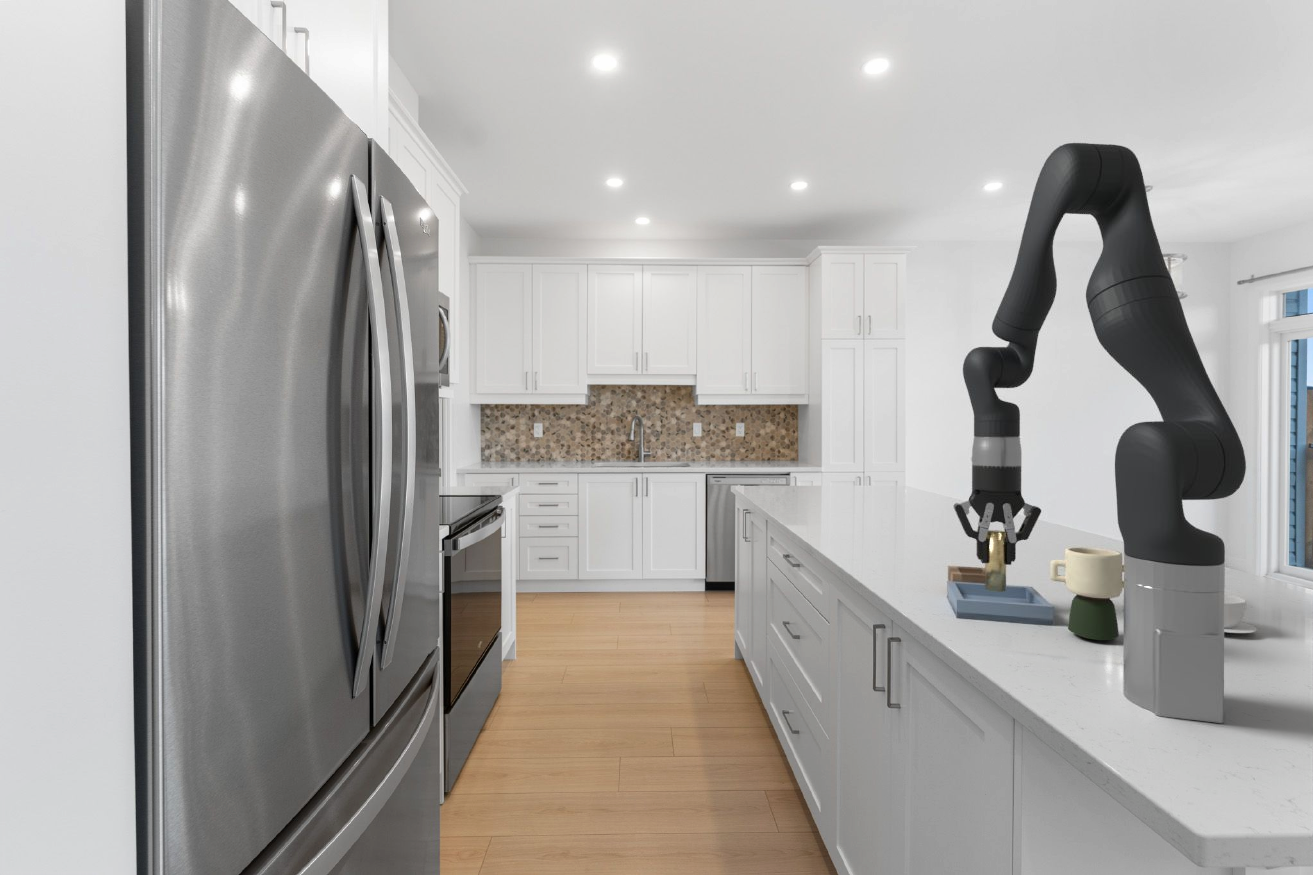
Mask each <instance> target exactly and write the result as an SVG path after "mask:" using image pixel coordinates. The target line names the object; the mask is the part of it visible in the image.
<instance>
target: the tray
mask: <svg viewBox="0 0 1313 875" xmlns="http://www.w3.org/2000/svg"><path fill="white" fill-rule="evenodd" d="M946 598H947V601H948V603H949V604H950V607H951V609H952V611H953V613H954V616H955V617H956V619H966V620H977V621H978V620H979V621H991V622H1001V623H1006V622H1007V623H1015V624H1016V623H1017V624H1025V625H1026V624H1029V625H1037V626H1038V625H1041V626H1050V627H1051V626H1054V605H1052V604H1051V603H1050V602H1049V601H1048V600H1047V599H1046V598H1045V597H1043V596H1042V595H1041V594H1040V593H1039V592H1038V591H1037V589H1035V588H1034V587H1033V586H1029V585H1026V586H1025V585H1015V584H1014V585H1013V584H1011V585H1010V584H1006V591H1003V592H998V591H990V590H987V589H985V584H983V583H968V582H952V581H948V580H947V581H946Z"/></svg>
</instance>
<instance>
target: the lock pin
mask: <svg viewBox="0 0 1313 875" xmlns="http://www.w3.org/2000/svg"><path fill="white" fill-rule="evenodd" d="M986 542H987V563H984V568H985V589H987V590H990V591H998V592H1003V591H1006V585H1007V565H1006V532H1005V531H1004V530H999V529H998V530H997V529H996V530H994V529H988V532H987V537H986Z"/></svg>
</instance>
